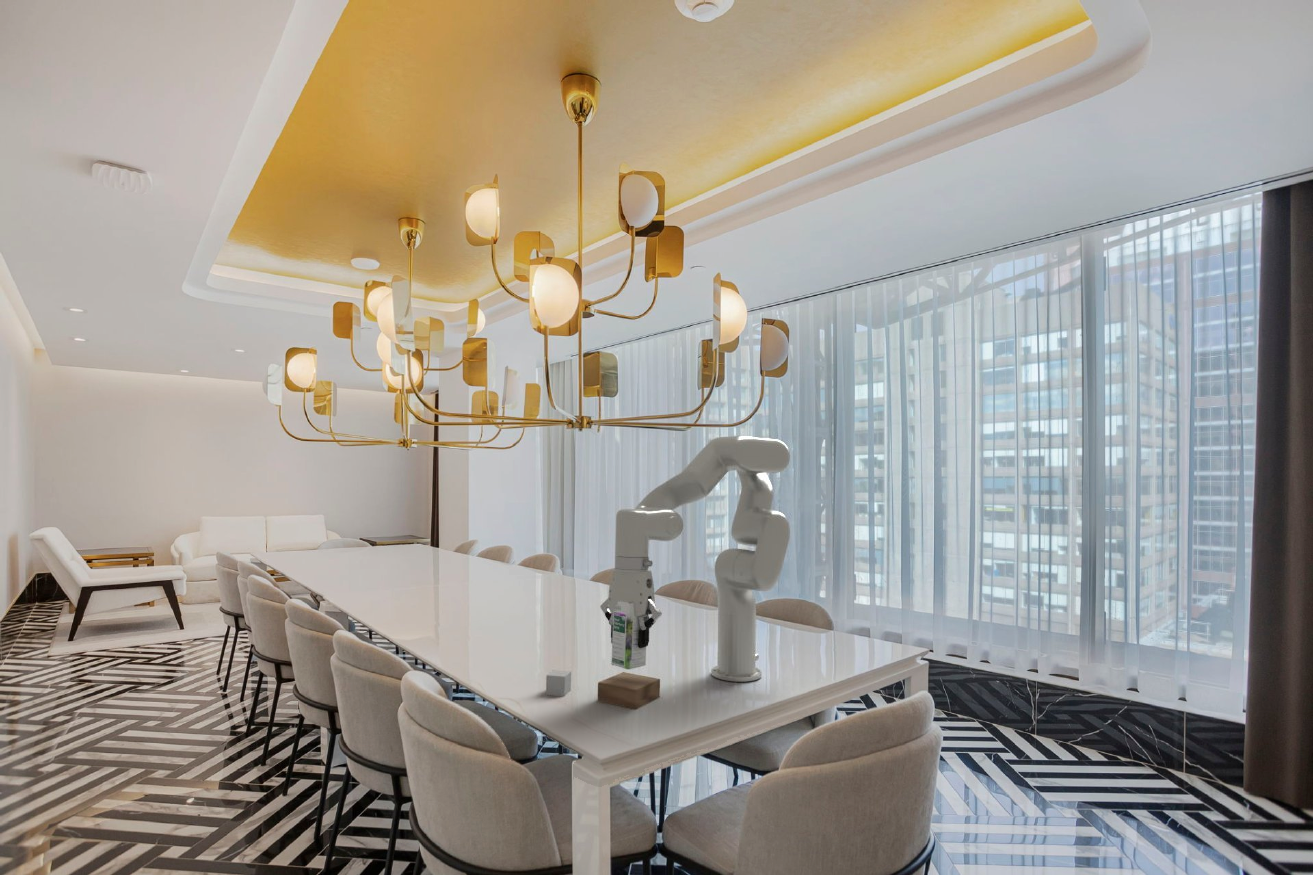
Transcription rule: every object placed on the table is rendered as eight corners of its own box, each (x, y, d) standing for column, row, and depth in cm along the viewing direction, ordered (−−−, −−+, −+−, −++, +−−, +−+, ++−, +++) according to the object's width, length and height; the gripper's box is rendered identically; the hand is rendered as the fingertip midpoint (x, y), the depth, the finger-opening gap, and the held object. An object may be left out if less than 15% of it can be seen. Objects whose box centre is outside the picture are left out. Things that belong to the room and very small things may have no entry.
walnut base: (622, 689, 161) (623, 672, 161) (659, 697, 156) (659, 679, 156) (597, 701, 152) (597, 682, 153) (635, 709, 147) (636, 690, 147)
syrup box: (610, 665, 154) (612, 599, 155) (629, 660, 158) (631, 596, 159) (627, 670, 150) (629, 602, 151) (647, 665, 154) (648, 600, 155)
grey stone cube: (552, 689, 161) (553, 670, 161) (570, 690, 160) (571, 671, 160) (545, 695, 156) (546, 675, 157) (564, 696, 155) (565, 676, 156)
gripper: (673, 565, 155) (671, 647, 153) (609, 559, 164) (607, 636, 162) (655, 568, 148) (653, 653, 147) (590, 562, 157) (588, 642, 156)
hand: (629, 644), depth 155 cm, fingers closed on syrup box, 6 cm apart
